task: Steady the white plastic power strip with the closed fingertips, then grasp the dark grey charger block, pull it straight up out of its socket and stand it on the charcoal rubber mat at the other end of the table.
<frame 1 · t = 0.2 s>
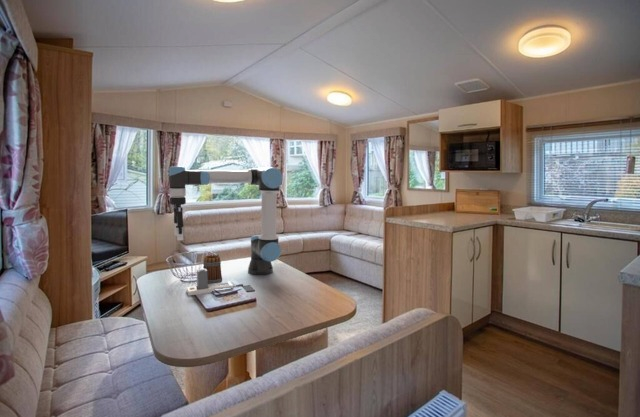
hand: (178, 237, 181), 28 cm above the table, fingers open, 13 cm apart
charger: (202, 291, 179), point 1 cm above the table, touching power strip
power strip: (210, 291, 181), on the table
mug: (213, 282, 198), on the table
mat: (243, 289, 186), on the table
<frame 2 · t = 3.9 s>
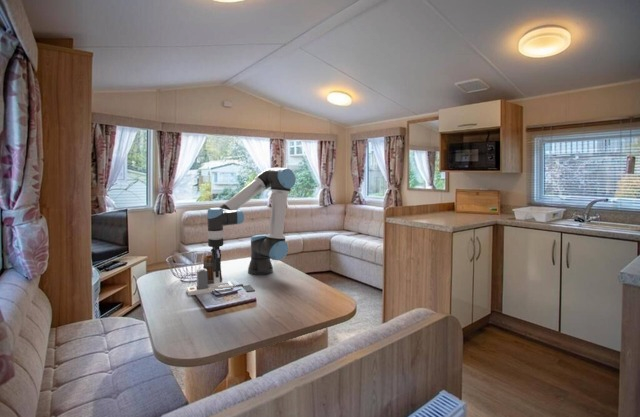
hand: (216, 282, 183), 4 cm above the table, fingers closed
nothing on the table moved.
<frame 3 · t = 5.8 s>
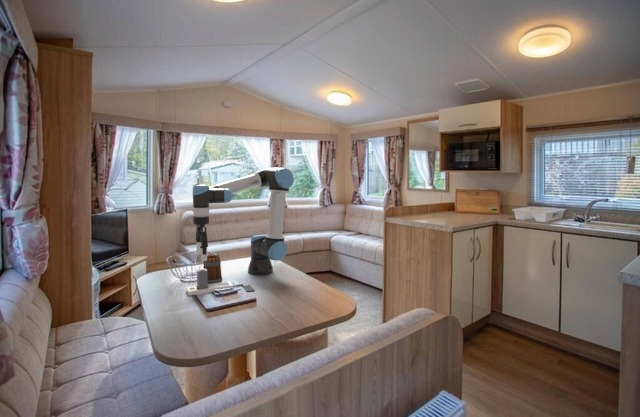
hand: (201, 257, 177), 19 cm above the table, fingers open, 13 cm apart
nothing on the table moved.
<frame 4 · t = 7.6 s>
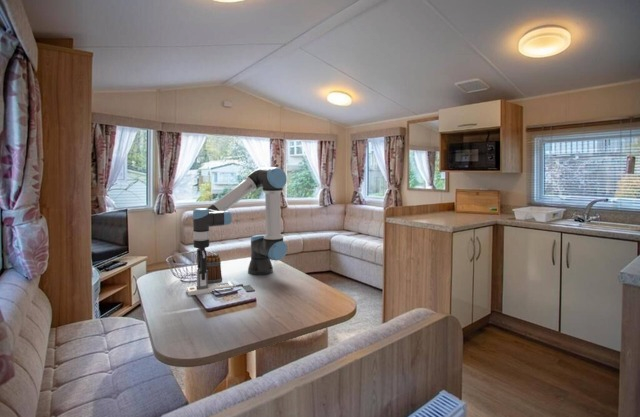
hand: (202, 284, 179), 5 cm above the table, fingers closed on charger, 4 cm apart
charger: (202, 291, 179), point 1 cm above the table, touching gripper, power strip
everything else where it was.
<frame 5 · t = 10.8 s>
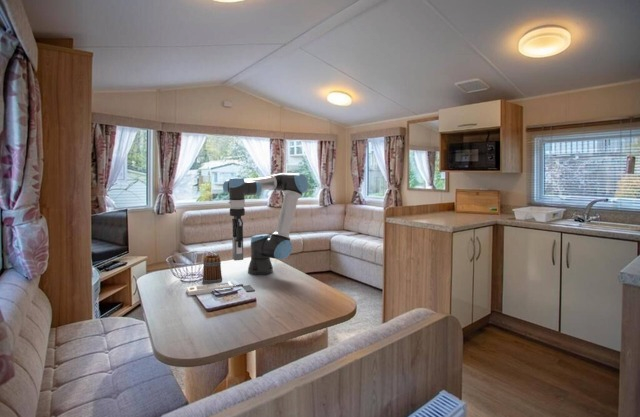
hand: (238, 252, 183), 20 cm above the table, fingers closed on charger, 4 cm apart
charger: (238, 259, 183), point 17 cm above the table, touching gripper
everything else where it was.
when the fingers open (6 cm above the table, at t = 14.1 s): charger drops 2 cm, resting on mat.
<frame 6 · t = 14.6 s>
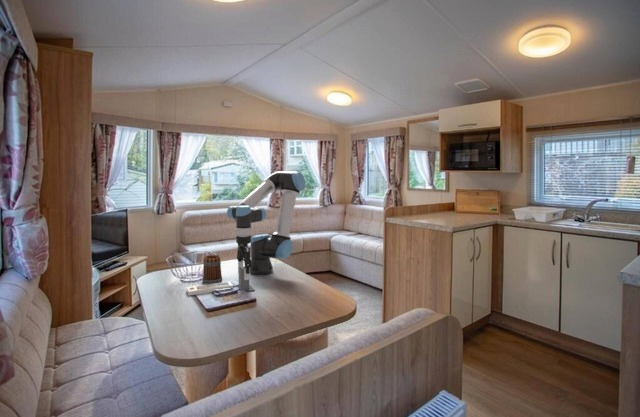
hand: (243, 276, 185), 7 cm above the table, fingers open, 11 cm apart
charger: (243, 288, 186), point 1 cm above the table, touching mat
everything else where it was.
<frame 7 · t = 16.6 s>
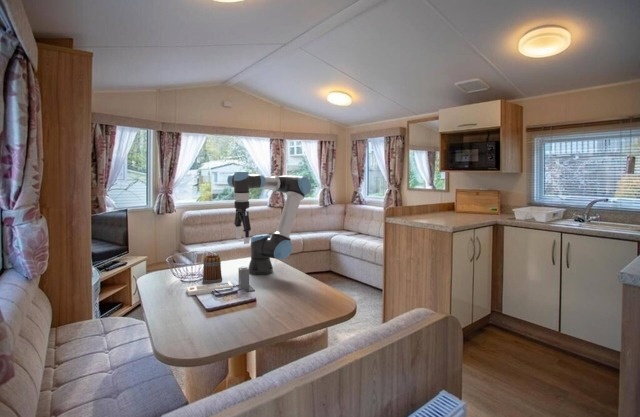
hand: (242, 241, 185), 26 cm above the table, fingers open, 13 cm apart
nothing on the table moved.
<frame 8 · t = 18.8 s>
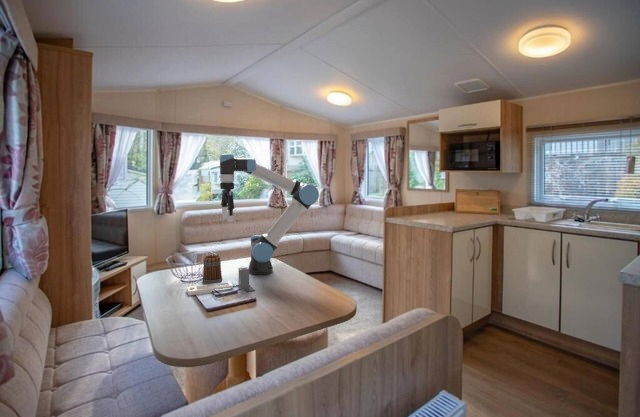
hand: (227, 219, 198), 35 cm above the table, fingers open, 13 cm apart
nothing on the table moved.
at the end: charger inside the target area on the mat (0.0 cm from its centre), point 0.6 cm above the mat's base; charger tilted 0°; charger touching mat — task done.
